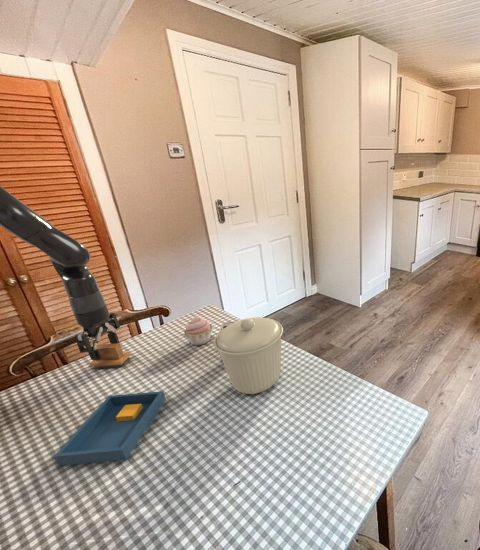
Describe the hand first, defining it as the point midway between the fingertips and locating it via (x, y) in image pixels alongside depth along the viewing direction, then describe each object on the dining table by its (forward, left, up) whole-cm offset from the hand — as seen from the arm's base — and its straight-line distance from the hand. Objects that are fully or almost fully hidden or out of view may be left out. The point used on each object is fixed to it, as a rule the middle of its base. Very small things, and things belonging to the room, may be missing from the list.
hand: (106, 351), depth 97 cm
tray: (+19, -28, -5) cm, 35 cm away
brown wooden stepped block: (+1, 0, -5) cm, 5 cm away
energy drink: (+39, -1, -5) cm, 40 cm away
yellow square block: (+20, -24, -4) cm, 31 cm away
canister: (+49, -14, -5) cm, 52 cm away
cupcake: (+24, +10, -5) cm, 27 cm away
